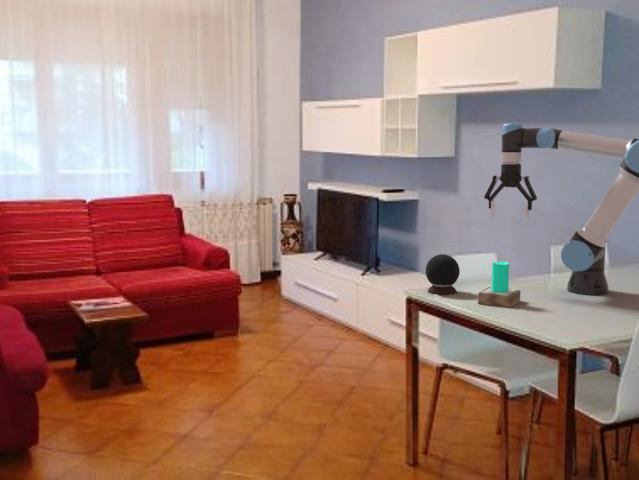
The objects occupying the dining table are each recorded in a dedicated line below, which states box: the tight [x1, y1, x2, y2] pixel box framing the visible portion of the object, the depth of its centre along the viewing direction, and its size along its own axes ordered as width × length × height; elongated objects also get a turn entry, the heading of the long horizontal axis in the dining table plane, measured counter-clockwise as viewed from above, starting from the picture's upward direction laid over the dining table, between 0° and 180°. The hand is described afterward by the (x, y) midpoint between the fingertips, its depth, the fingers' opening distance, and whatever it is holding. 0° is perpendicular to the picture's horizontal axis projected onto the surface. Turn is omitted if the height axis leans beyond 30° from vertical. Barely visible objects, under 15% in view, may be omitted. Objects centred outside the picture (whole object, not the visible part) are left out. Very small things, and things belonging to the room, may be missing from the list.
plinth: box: [477, 286, 521, 309], centre depth 263 cm, size 12×12×4 cm
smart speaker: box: [425, 253, 461, 296], centre depth 281 cm, size 13×13×15 cm
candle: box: [491, 261, 510, 293], centre depth 262 cm, size 6×6×12 cm
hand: (509, 217), depth 282 cm, fingers open, 13 cm apart
